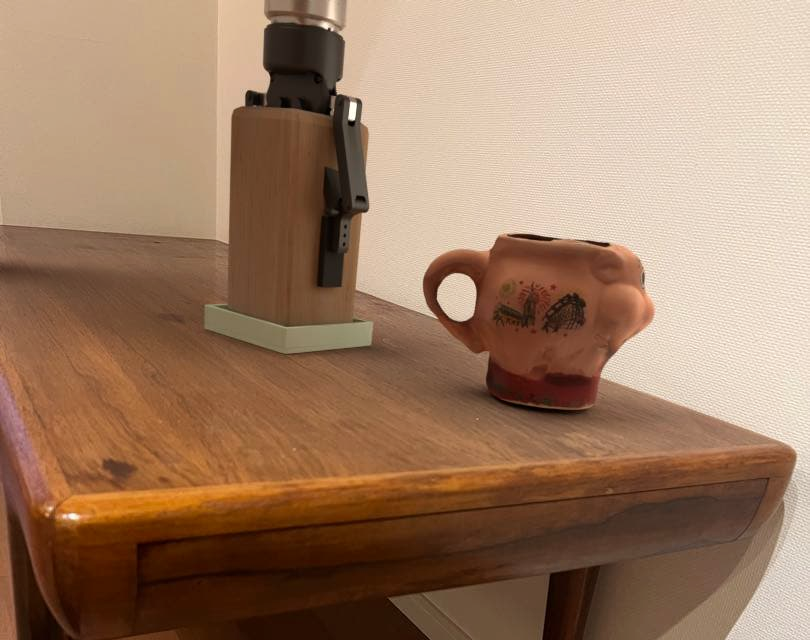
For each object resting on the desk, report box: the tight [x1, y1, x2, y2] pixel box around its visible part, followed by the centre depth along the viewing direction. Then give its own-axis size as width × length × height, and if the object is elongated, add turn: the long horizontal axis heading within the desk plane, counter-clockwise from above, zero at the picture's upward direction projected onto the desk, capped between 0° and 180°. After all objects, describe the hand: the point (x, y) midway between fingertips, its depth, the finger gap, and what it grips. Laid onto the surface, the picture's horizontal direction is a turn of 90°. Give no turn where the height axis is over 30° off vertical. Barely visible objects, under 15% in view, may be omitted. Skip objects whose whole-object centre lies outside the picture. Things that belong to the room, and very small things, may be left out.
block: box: [226, 105, 370, 327], centre depth 79 cm, size 10×10×20 cm
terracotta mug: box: [422, 232, 656, 411], centre depth 67 cm, size 20×12×14 cm, turn 95°
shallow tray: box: [204, 303, 374, 355], centre depth 83 cm, size 13×13×2 cm
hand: (292, 278), depth 81 cm, fingers closed on block, 10 cm apart
